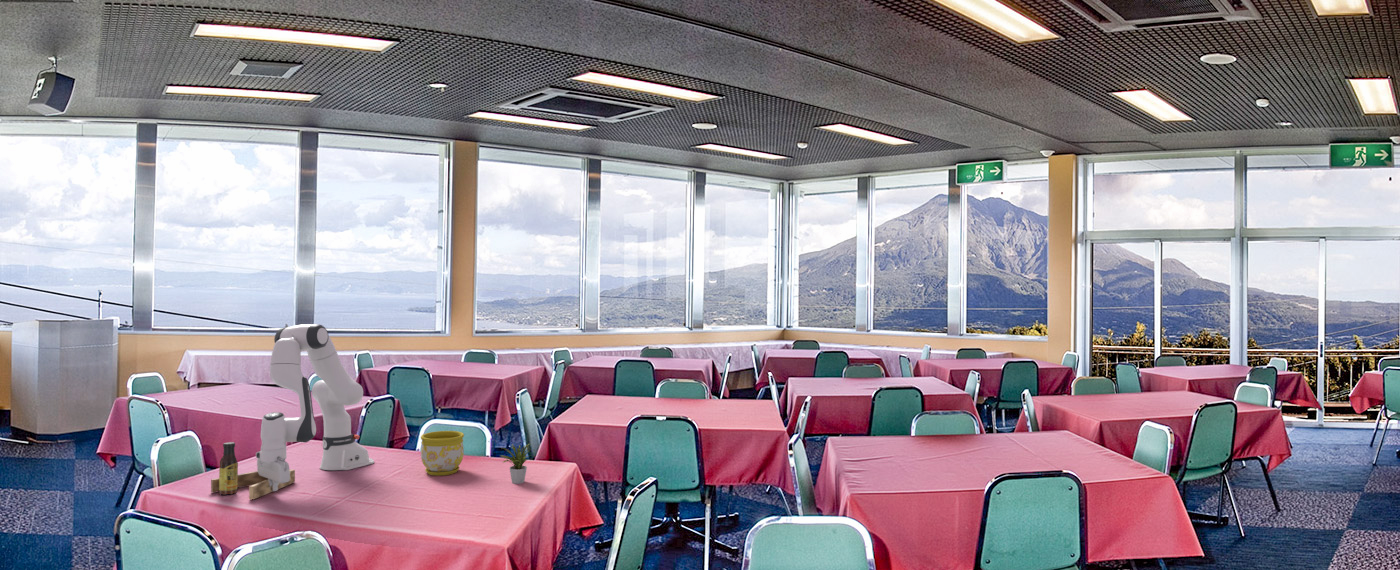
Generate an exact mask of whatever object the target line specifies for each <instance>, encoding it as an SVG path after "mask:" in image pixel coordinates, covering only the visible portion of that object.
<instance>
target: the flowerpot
mask: <svg viewBox="0 0 1400 570" xmlns="http://www.w3.org/2000/svg"><path fill="white" fill-rule="evenodd" d="M464 437H465V434H464V433H463V432H461V431H457V430H437V431H431V432H427V433H426V432H425V433H423V434H421V436H420V440H421V450H420V458H421V462H422V464H423V466H424V468H425V469H424V470H425V472H427V474H428V475H430V476H436V477H437V476H441V477H442V476H449V475H453V474H455V473H457V472H458V471H459V469H460V465H461V463H462V461H463V458H464V455H465V454H464V453H465V452H464V451H465V450H464V448H465V447H464Z"/></svg>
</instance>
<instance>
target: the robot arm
mask: <svg viewBox="0 0 1400 570" xmlns="http://www.w3.org/2000/svg"><path fill="white" fill-rule="evenodd" d="M273 340H274V345H273V349H272V352H271V357H270V365H269V377H270V379H271V381H272V382H273V383H274V384H275V385H276V386H279V387H280V388H283V389H287V390H289V391H292V392H295V393H296V394H297V396H298V398H299V399H298V400H299V405H300V406H299V407H300V416H298V417H286V416H285V414H284V413H282V412H279V411H278V412H269V413H266V414H265V415H263V417H262V418H261V419H262V420H261V424H260V425H261V427H260V439H261V445H260V451H257V452H255V458H257V459H256V466H257V467H256V468H257V469H256V471H258V474H259V475H260V476H263V477H266V478H268V482H269V485H270V490H272V491H273V492H276V491H278V490H279V489H278V485H279V483H285V482H289V480H290V470H291V469H290V465H289V463H288V462H287V461H286V459H287V443H292V442H293V443H296V442H297V443H308V442H310V441H312V439H314V437H315V436H316V433H317V426H316V421H315V416H314V409H313V400H312V398H313V399H314V401H316V402H317V404H318V406H319V408H320V412H321V414H322V419H323V436H322V458H321V462H320V466H319V469H320V470H323V471H349V470H352V469H357V468H360V467H365V466H369V465H372V464H375V460H374V459H373V458H370V454H369V452H368V449H367V448H366V447H364V446H363V445H361V444H359V443H358V442H356V440H359V439H360V435H359V434H353V433H352V417H351V415H350V414H349V413H348V412H347V410H346V408H345V406H353V405H357V404H359V403H360V402H361V401H362V399H363V396H364V389H363V386H362V385H361V384H360V383H358V382H357V381H356V380H354V378H352V376H351V375H350V373H349V372H348V371H347V370H346V368H345V367H344V365H343V364H342V361H341V359H340V357H339V354H338V351H337V349H336V347H335V344H334V342H333V341H332V338H331V337H330V336H329V331H328V330H327V328H326V327H325V326H324V325H322V324H318V323H313V324H312V323H311V324H309V323H307V324H304V323H303V324H297V325H293V326H284V327H282V328H280V329H277V331H276V333H275V335H274V339H273ZM305 351H306V353H307V356H308V358H309V361H310V363H311V366H312V368H313V371H314V373H315V375H316V376H317V377H318V378H320V380H317V381H316V382H314V383H313V385H312V388H311V387H310V383H309V380H308V378H307V377H305V376H304V375H303V373H302V370H301V368H302V367H301V365H302V364H301V363H302V354H301V352H305Z"/></svg>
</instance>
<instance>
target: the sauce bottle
mask: <svg viewBox="0 0 1400 570" xmlns="http://www.w3.org/2000/svg"><path fill="white" fill-rule="evenodd" d="M222 447H223V456H222V457H221V458H220V460H219V469H218V470H219V473H218V475H219V477H218V478H219V493H218V494H219V495H220V494H223V495H222V496H227V495H226V494H230V495H233V493H234V494H236V493H237V492H238V488H237V480H238V474H239V473H238V472H239V469H238V468H239V467H238V466H239V463H238V460H237V458H236V454H235V447H236V442H234V441H229V442H223V444H222Z"/></svg>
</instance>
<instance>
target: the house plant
mask: <svg viewBox="0 0 1400 570" xmlns="http://www.w3.org/2000/svg"><path fill="white" fill-rule="evenodd" d="M529 446H530V443H528V444H525V445H524V446H522V447H521V444H519V445H518V447H517V446H515V445H514V444H513V443H511V449H512V450H513V452H514V453H513V452H512V450H509V449H507V448H503V447H502V449H504V450H505V451H507V452H508V454H510V456H511V457H510V456H508V455H499V457H502V458H503V459H505V460H503V462H502V464H504V463H506V462H509V463H510V464H511V465H512V466H510V467H509V474H510V479H511V483H512V484H516V485H518V484H519V485H520V484H523V483H525V480H526V475H527V474H526V473H527V469H528V468H527V466H526V465H524V464H525V463H526V462H527V461H528V460H529V458H527V456H526V455H527V454H528V452H530V450H531V448H529ZM531 460H533V458H531Z"/></svg>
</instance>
